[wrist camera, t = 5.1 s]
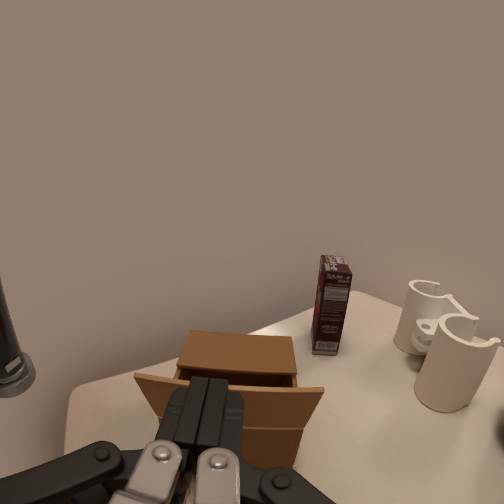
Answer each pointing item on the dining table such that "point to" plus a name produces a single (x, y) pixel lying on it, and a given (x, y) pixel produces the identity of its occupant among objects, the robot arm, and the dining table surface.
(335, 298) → the supplement box
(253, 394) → the flap
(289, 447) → the carton
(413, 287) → the bracket
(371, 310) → the dining table surface
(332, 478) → the dining table surface
